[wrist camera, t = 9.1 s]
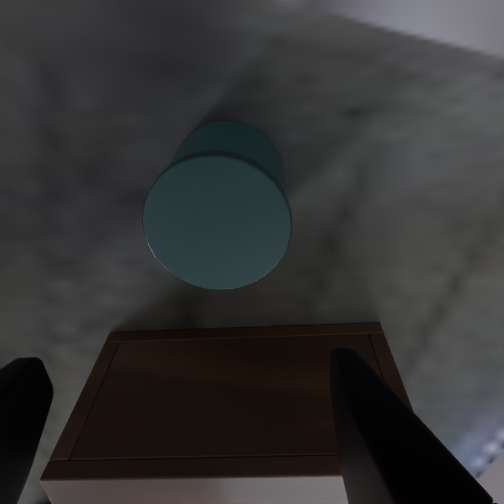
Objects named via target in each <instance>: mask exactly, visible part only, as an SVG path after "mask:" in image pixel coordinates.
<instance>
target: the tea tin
mask: <svg viewBox="0 0 504 504" xmlns="http://www.w3.org/2000/svg"><path fill="white" fill-rule="evenodd" d="M142 225H143V232H144V235H145V239H146V241H147V244H148V246H149V248H150V250H151V252H152V253H153V255H154V257H155V258H156V259H157V260H158V262H159V263H160V264H161V265H162V266H163V267H164V268H165V269H166V270H167V271H169V272H170V273H171V274H172V275H174V276H175V277H177V278H179V279H180V280H182V281H184V282H186V283H189V284H191V285H194V286H197V287H201V288H205V289H213V290H229V289H236V288H241V287H244V286H247V285H250V284H252V283H254V282H257V281H258V280H260V279H262V278H263V277H265V276H266V275H267V274H269V273H270V272H271V271H272V270H273V269H274V268H275V267H276V266H277V265H278V264H279V262H280V261H281V260H282V258H283V257H284V255H285V253H286V251H287V249H288V246H289V243H290V239H291V234H292V217H291V209H290V205H289V201H288V198H287V196H286V193H285V186H284V178H283V170H282V164H281V160H280V157H279V155H278V152H277V151H276V149H275V147H274V146H273V144H272V143H271V142H270V140H269V139H268V138H267V137H266V136H265V135H264V134H262V133H261V132H260V131H258V130H257V129H255V128H253V127H251V126H249V125H247V124H244V123H240V122H236V121H216V122H212V123H208V124H206V125H204V126H201V127H199V128H198V129H196V130H195V131H193V132H192V133H191V134H190V135H189V136H188V137H187V138H186V139H185V140H184V141H183V143H182V144H181V146H180V147H179V149H178V150H177V152H176V154H175V155H174V157H173V159H172V160H171V162H170V163H169V165H168V167H167V168H165V169H164V170H163V171H162V172H161V174H160V175H159V176H158V177H157V179H156V180H155V182H154V183H153V185H152V186H151V188H150V190H149V192H148V194H147V196H146V199H145V202H144V206H143V212H142Z"/></svg>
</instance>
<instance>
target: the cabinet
mask: <svg viewBox="0 0 504 504" xmlns="http://www.w3.org/2000/svg"><path fill="white" fill-rule="evenodd" d="M334 347H353V348H355V349H356V350H357V351H358V352H359V353H360V355H361V356H362V357H363V358H364V359H365V360H366V361H367V362H368V363H369V364H370V365H371V367H372V368H373V369H374V370H375V371H376V372H377V373H378V374H379V375H380V376H381V377H382V378H383V380H384V381H385V382H386V383H387V384H388V385H389V386H390V387H391V388H392V389H393V390H394V392H395V393H396V394H397V395H398V396H399V397H400V398H401V399H402V400H403V401H404V402H405V403H406V405H407V406H408V407H409V408H410V409H411V410H412V411H413V409H412V407H411V404H410V401H409V399H408V396H407V393H406V391H405V388H404V385H403V383H402V380H401V377H400V375H399V372H398V369H397V367H396V364H395V362H394V359H393V356H392V354H391V351H390V348H389V346H388V343H387V340H386V338H385V335H384V332H383V329H382V326H381V324H380V323H361V324H333V325H304V326H276V327H248V328H220V329H192V330H164V331H136V332H110V333H109V335H108V337H107V339H106V342H105V344H104V346H103V348H102V350H101V352H100V354H99V357H98V359H97V361H96V363H95V365H94V367H93V369H92V371H91V373H90V375H89V377H88V380H87V382H86V384H85V386H84V388H83V390H82V392H81V394H80V396H79V398H78V401H77V403H76V405H75V407H74V409H73V411H72V413H71V415H70V417H69V419H68V422H67V424H66V426H65V428H64V430H63V432H62V434H61V436H60V438H59V440H58V442H57V445H56V447H55V449H54V451H53V453H52V455H51V457H50V461H49V462H48V464H47V466H46V468H45V470H44V472H43V474H42V476H41V478H40V482H41V484H42V486H43V488H44V490H45V492H46V494H47V496H48V498H49V500H50V501H51V503H52V504H349V502H348V498H347V494H346V490H345V486H344V482H343V477H342V473H341V468H340V461H339V455H338V447H337V439H336V431H335V423H334V415H333V408H332V400H331V392H330V357H331V350H332V348H334Z"/></svg>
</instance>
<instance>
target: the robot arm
mask: <svg viewBox="0 0 504 504" xmlns="http://www.w3.org/2000/svg"><path fill="white" fill-rule="evenodd" d="M330 392H331V400H332V408H333V415H334V423H335V431H336V439H337V447H338V455H339V461H340V468H341V473H342V477H343V482H344V486H345V490H346V494H347V498H348V502H349V504H497V503H493V499H492V497H491V496H490V495H489V494H488V493H487V492H486V490H485V489H484V488H483V487H482V486H481V485H480V484H479V483H478V482H477V481H476V480H475V479H474V477H473V476H472V475H471V474H470V473H469V472H468V471H467V470H466V469H465V468H464V467H463V465H462V464H461V463H460V462H459V461H458V460H457V459H456V458H455V457H454V456H453V455H452V454H451V452H450V451H449V450H448V449H447V448H446V447H445V446H444V445H443V444H442V443H441V442H440V440H439V439H438V438H437V437H436V436H435V435H434V434H433V433H432V432H431V431H430V430H429V429H428V427H427V426H426V425H425V424H424V423H423V422H422V421H421V420H420V419H419V418H418V417H417V415H416V414H415V413H414V412H413V411H412V410H411V409H410V408H409V407H408V406H407V405H406V403H405V402H404V401H403V400H402V399H401V398H400V397H399V396H398V395H397V394H396V393H395V392H394V390H393V389H392V388H391V387H390V386H389V385H388V384H387V383H386V382H385V381H384V380H383V378H382V377H381V376H380V375H379V374H378V373H377V372H376V371H375V370H374V369H373V368H372V367H371V365H370V364H369V363H368V362H367V361H366V360H365V359H364V358H363V357H362V356H361V355H360V353H359V352H358V351H357V350H356V349H355V348H353V347H334V348H332V350H331V357H330ZM52 399H53V386H52V383H51V381H50V378H49V376H48V374H47V371H46V369H45V366H44V364H43V362H42V360H40V359H39V358H37V357H26V358H17V359H15V360H13V361H12V362H10V363H9V364H7V365H6V366H5V367H3V368H2V369H0V504H17V502H18V500H19V497H20V495H21V493H22V490H23V488H24V485H25V483H26V480H27V478H28V475H29V472H30V470H31V467H32V464H33V461H34V457H35V454H36V451H37V448H38V445H39V441H40V438H41V435H42V432H43V428H44V425H45V422H46V419H47V415H48V412H49V409H50V406H51V403H52Z"/></svg>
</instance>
